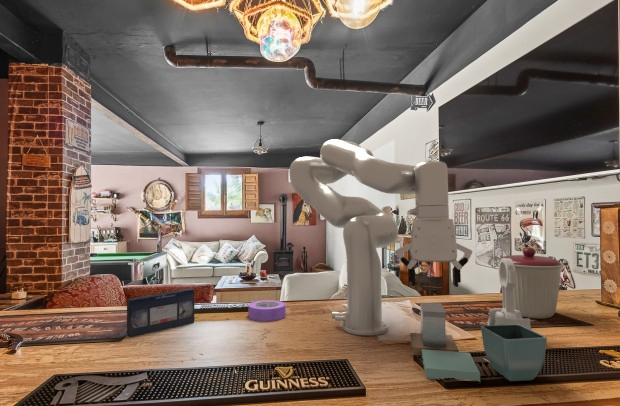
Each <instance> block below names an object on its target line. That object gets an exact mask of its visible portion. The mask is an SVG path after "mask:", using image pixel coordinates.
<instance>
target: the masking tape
mask: <svg viewBox="0 0 620 406" xmlns="http://www.w3.org/2000/svg"><path fill="white" fill-rule="evenodd" d="M286 306H287V305H286V302H283V301H281V300H275V299H274V300H273V299H264V300H263V299H262V300H256V301H252V302H250V303H248V305H247V307H248V313H247V314H248V316H247V317H248V318H249V320H252V321H255V322H256V321H257V322H273V321H279V320H282V319H284V318H285V317H286V312H287V311H286V309H287V308H286Z"/></svg>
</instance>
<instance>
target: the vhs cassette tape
mask: <svg viewBox="0 0 620 406" xmlns="http://www.w3.org/2000/svg"><path fill="white" fill-rule="evenodd" d="M195 320H196V319H195V289H194V288H187V289H180V290H179V289H178V290H173V291H169V292H162V293H156V294H150V295H142V296H138V297H132V298H131V297H130V298H127V299H126V335H127V337H129V338H134V337H138V336H144V335H148V334H151V333H156V332H161V331H164V330H165V331H166V330H170V329H174V328H178V327H183V326H187V325H191V324H194V323H195Z"/></svg>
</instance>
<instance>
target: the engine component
mask: <svg viewBox="0 0 620 406" xmlns="http://www.w3.org/2000/svg"><path fill="white" fill-rule="evenodd" d="M501 258H502V257H501ZM501 258H500V259H501ZM498 278H499V283H500V286H501V295H502V296H501V297H502V308H501V307H497V308H496V307H495V308H491V309H489V311H488V319H487V325H509V324H519V325H522V326H524V327H526V328H528V329H530V330H532V327H531V318H526V317H525V318H524V317H522V313H521V312H520V311H519V310H514V295H513V288H514V287H515V284H516V271H515V266H514V263H513V261H512V259H510V258H502V259H501V260H500V263H498Z"/></svg>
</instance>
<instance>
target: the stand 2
mask: <svg viewBox="0 0 620 406" xmlns="http://www.w3.org/2000/svg"><path fill="white" fill-rule="evenodd" d="M422 359H423V361H422V365H424V366H423V369H424V371H423V372H424V375H425V379H430V380H431V379H432V380H440V379H439V378H455V379H473V380H477V381H479V382H480V383H481V372H480V370H479V368H478V366H477V364H476V362H475V360H474V359H473V357H472V355H471V353H470V352H467V351H466V352H463V351H459V352H453V351H439V350H425V349H422V356H421V360H422Z"/></svg>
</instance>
